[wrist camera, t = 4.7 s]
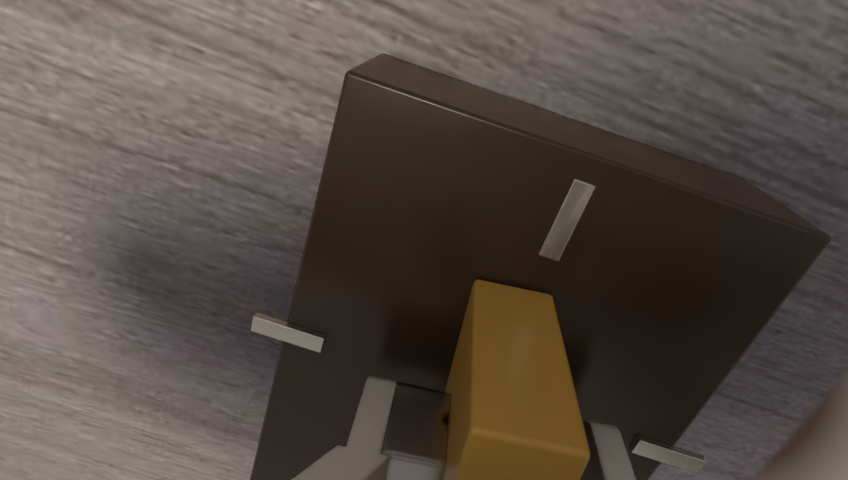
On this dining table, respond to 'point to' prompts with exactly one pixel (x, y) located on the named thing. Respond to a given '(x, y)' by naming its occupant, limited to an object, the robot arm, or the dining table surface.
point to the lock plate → (519, 262)
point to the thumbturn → (513, 392)
